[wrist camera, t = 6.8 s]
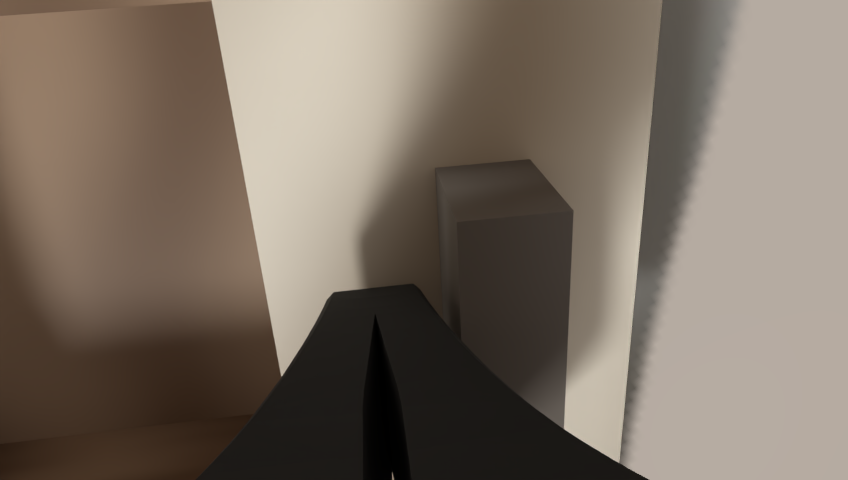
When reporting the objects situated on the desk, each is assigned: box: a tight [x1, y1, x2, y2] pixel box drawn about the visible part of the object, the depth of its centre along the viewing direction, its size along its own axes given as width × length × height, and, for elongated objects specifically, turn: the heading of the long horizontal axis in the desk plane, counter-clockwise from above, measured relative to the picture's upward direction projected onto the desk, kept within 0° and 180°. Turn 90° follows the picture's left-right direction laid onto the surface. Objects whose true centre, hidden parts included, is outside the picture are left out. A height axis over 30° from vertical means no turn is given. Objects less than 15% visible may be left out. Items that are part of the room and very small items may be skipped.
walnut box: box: [0, 0, 281, 480], centre depth 13 cm, size 12×11×4 cm
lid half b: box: [212, 0, 663, 480], centre depth 10 cm, size 6×11×3 cm, turn 3°
